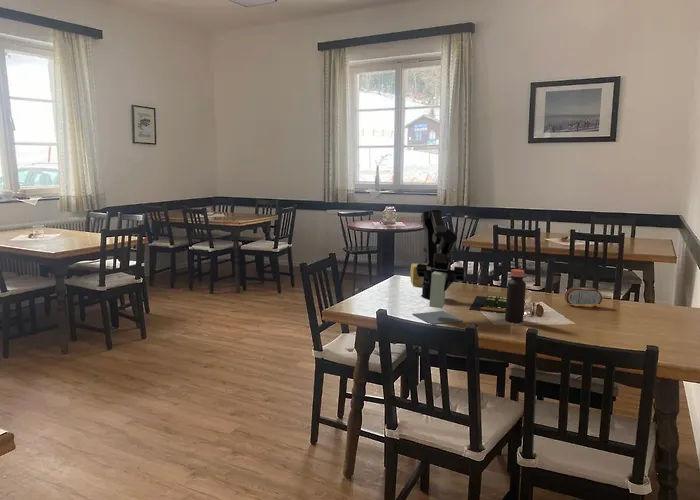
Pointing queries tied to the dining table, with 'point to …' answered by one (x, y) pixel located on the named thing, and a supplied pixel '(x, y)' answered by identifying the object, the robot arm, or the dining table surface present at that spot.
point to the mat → (437, 317)
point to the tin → (583, 296)
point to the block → (437, 289)
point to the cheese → (415, 276)
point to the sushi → (489, 303)
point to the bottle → (515, 297)
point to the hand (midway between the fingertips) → (437, 290)
